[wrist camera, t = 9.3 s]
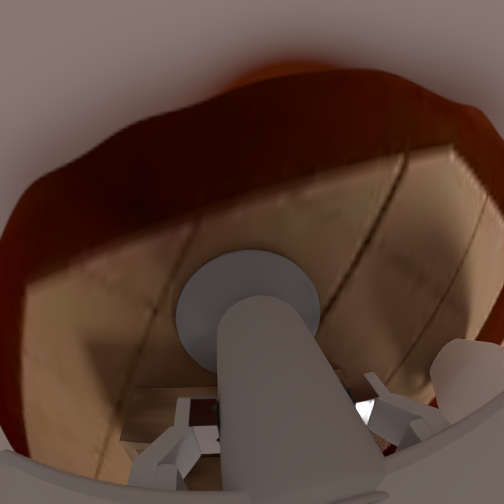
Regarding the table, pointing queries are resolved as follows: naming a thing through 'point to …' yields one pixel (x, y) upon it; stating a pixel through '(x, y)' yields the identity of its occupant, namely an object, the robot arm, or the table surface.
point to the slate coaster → (239, 296)
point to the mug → (466, 376)
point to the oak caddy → (162, 417)
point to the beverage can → (288, 414)
